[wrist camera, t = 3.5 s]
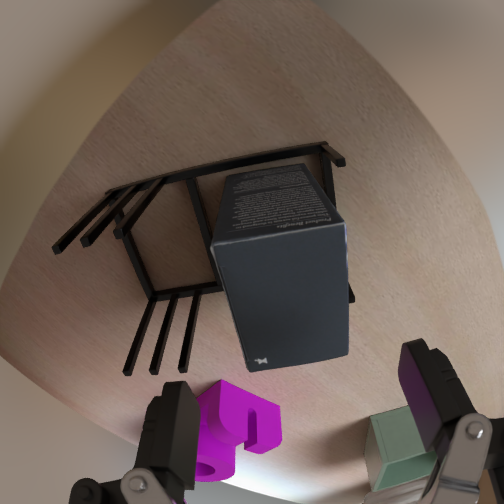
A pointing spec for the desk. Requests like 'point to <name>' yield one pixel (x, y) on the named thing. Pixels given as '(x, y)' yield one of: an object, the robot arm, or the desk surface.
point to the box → (283, 267)
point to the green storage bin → (395, 450)
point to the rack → (190, 175)
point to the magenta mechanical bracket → (233, 429)
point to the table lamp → (398, 493)
